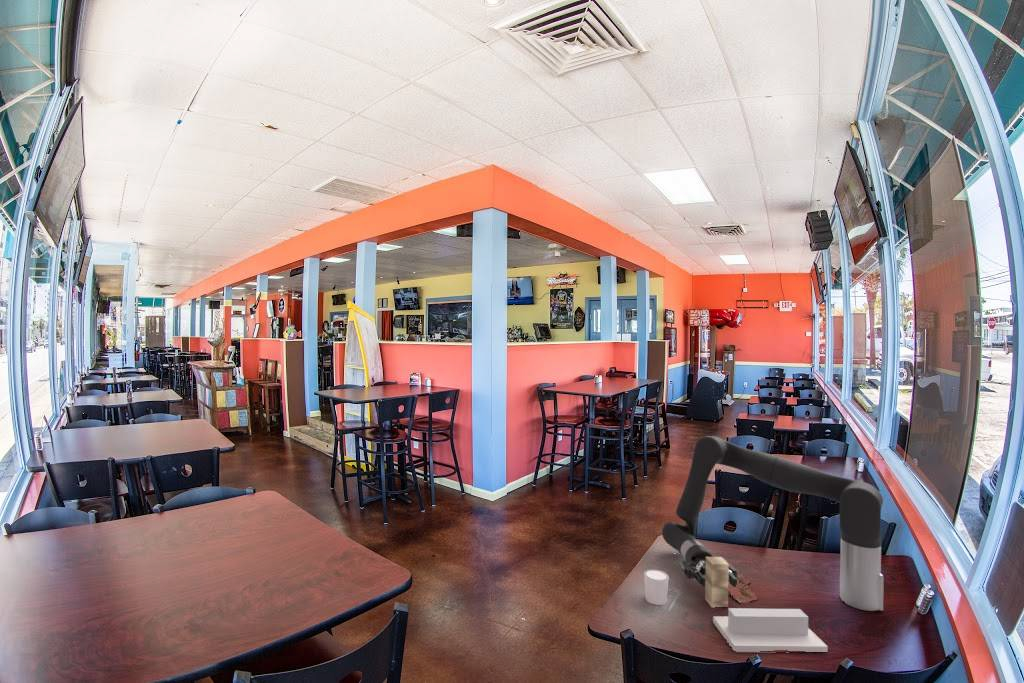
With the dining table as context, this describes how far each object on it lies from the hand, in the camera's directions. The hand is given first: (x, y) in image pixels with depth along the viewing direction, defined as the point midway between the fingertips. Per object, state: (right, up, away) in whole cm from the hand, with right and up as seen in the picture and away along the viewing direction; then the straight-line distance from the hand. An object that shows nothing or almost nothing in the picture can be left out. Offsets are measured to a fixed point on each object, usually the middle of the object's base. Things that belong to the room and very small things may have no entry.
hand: (719, 583), depth 133 cm
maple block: (0, -7, +2) cm, 7 cm away
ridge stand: (+6, -7, -13) cm, 16 cm away
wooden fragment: (+10, -7, +14) cm, 19 cm away
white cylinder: (-17, -7, +4) cm, 18 cm away
